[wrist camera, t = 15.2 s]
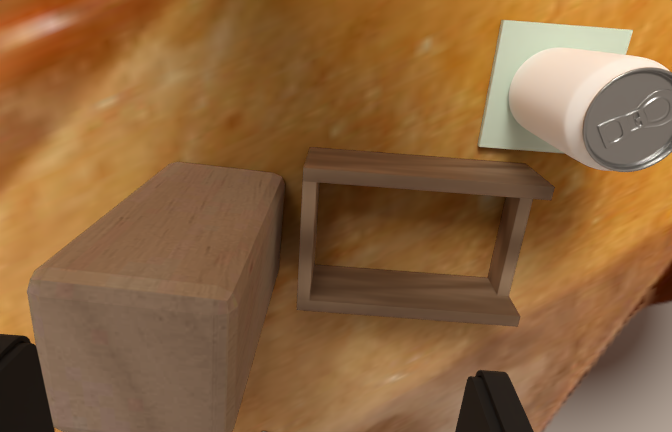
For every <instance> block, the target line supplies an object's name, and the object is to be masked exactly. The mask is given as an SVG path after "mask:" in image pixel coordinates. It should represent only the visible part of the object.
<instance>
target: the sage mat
mask: <svg viewBox="0 0 672 432" xmlns="http://www.w3.org/2000/svg"><path fill="white" fill-rule="evenodd" d="M632 32H633V30H625V29H613V28H600V27H587V26H574V25H561V24H549V23H536V22H523V21H510V20H501V25H500V30H499V36H498V41H497V46H496V51H495V57H494V62H493V67H492V72H491V77H490V83H489V88H488V93H487V98H486V103H485V109H484V114H483V119H482V124H481V130H480V135H479V140H478V146H479V147H488V148H501V149H514V150H527V151H540V152H553V153H564V152H562V151H560V150H559V149H557V148H555V147H554V146H552V145H550V144H549V143H547V142H546V141H544V140H542V139H541V138H539V137H537V136H536V135H534V134H533V133H531V132H529V131H528V130H526V129H525V128H524V127H522V126H521V125H520V124H519V123H518V122H517V121H516V120H515V118H514V117H513V115H512V113H511V110H510V106H509V89H510V85H511V82H512V79H513V77H514V75H515V74H516V72H517V70H518V69H519V68H520V66H521V65H522V64H523V63H524V62H525V61H526V60H527V59H529V58H530V57H531V56H533V55H535V54H536V53H538V52H540V51H543V50H546V49H550V48H559V47H561V48H573V49H582V50H590V51H599V52H607V53H615V54H623V55H626V52H627V49H628V46H629V42H630V39H631V35H632Z"/></svg>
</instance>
